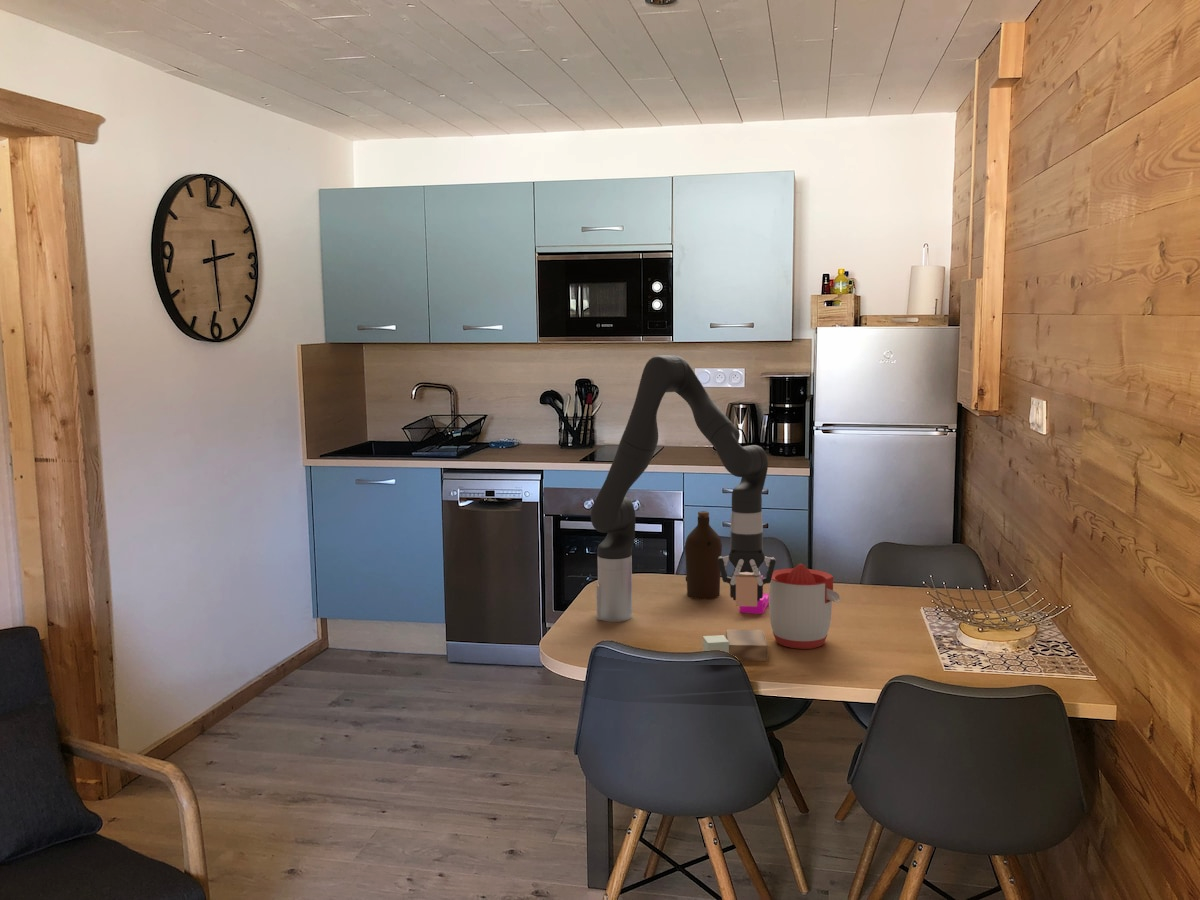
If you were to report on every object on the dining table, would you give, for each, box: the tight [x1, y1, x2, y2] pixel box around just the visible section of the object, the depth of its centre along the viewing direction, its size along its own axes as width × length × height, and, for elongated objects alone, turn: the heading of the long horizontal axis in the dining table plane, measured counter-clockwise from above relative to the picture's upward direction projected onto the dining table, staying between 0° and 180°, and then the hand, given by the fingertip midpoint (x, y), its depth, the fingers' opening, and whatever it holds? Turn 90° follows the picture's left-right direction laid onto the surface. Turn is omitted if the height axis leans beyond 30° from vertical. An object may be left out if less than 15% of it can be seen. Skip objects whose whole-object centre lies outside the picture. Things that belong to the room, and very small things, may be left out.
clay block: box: [735, 572, 757, 607], centre depth 226 cm, size 5×5×7 cm
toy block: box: [739, 574, 769, 615], centre depth 265 cm, size 15×6×8 cm, turn 160°
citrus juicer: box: [768, 563, 841, 650], centre depth 233 cm, size 16×17×20 cm
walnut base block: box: [725, 628, 768, 662], centre depth 228 cm, size 9×12×4 cm
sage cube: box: [702, 634, 729, 653], centre depth 223 cm, size 5×5×5 cm
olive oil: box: [684, 510, 723, 600], centre depth 276 cm, size 11×11×25 cm
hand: (746, 599), depth 227 cm, fingers closed on clay block, 5 cm apart
